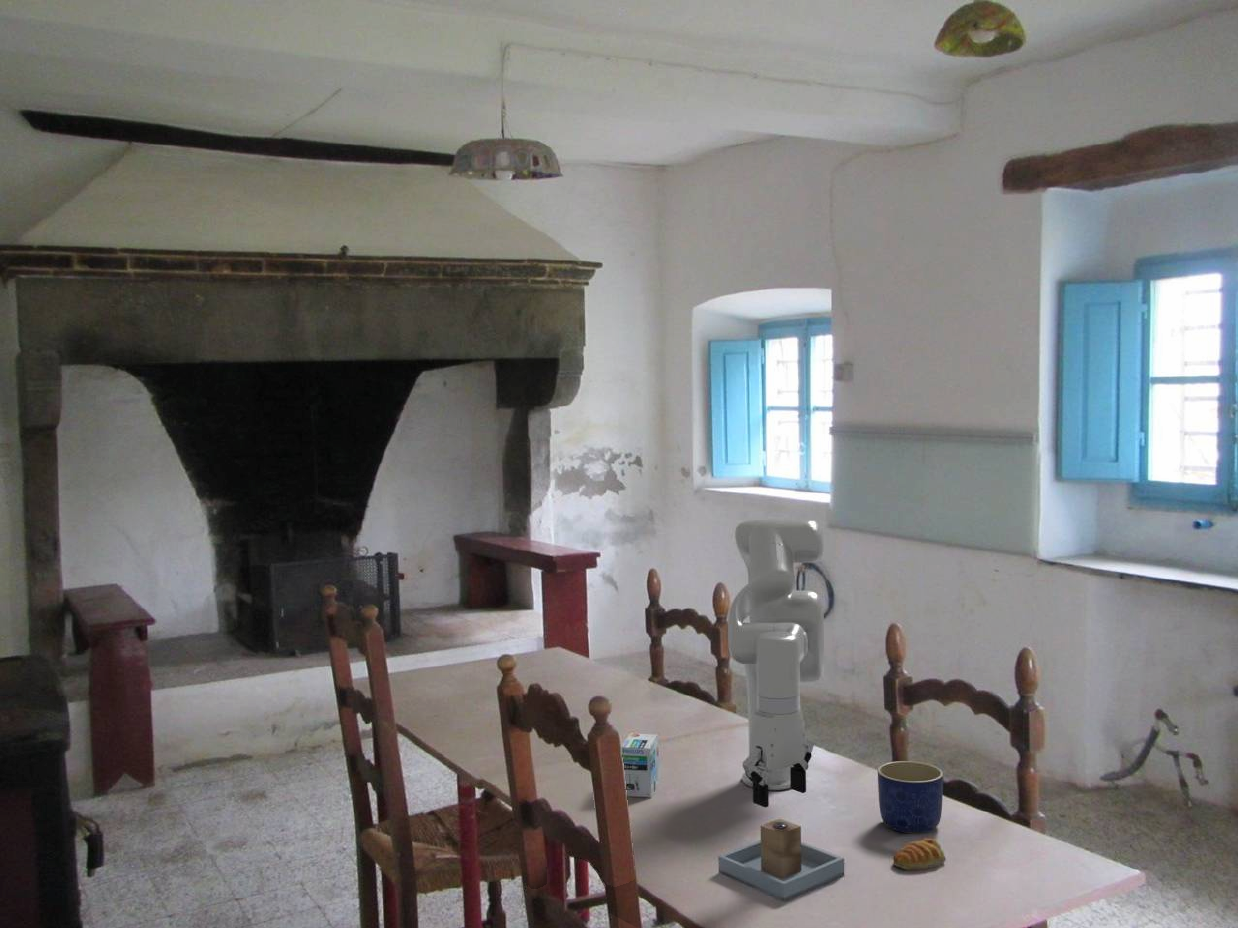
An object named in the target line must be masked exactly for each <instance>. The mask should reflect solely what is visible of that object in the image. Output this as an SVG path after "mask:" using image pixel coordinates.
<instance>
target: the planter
mask: <svg viewBox="0 0 1238 928" xmlns="http://www.w3.org/2000/svg"><path fill="white" fill-rule="evenodd" d="M943 786H944V772H943V771H942V769H940V768H939V767H937V766H935V765H932V764H929V763H924V762H921V761H920V762H919V761H909V760H908V761H907V760H903V761H902V760H901V761H891V762H886V763H883V764H881V765H880V766H879V767H878V768H877V789H878V803H879V804H878V805H879V811H880V816H881V819H882V821H883V822H884V824H885V825H887V826H888V828H891V830H892V829H893V830H894V831H898V832H901V833H905V834H906V833H907V834H923V833H924V834H925V833H928V832H930V831H933V830H934V829H936V828H937V827H938V826H939V824H940V822H941V818H942V809H943V792H944V787H943Z"/></svg>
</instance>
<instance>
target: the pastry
mask: <svg viewBox="0 0 1238 928" xmlns="http://www.w3.org/2000/svg"><path fill="white" fill-rule="evenodd" d="M892 859H893V862H892V863H893V866H896V867H898V868H901V869H903V870H905V871H914V870H916V871H917V870H927V869H930V868H936V867H938V866H941V865H943V864H944V863H945V862H946V860H947V859H946V855H945V852H944V851H943V848H942V847H941V844H940V843H939V842H938V841H937V840H935V839H933V838H925V837H924V838H923V839H921V840H915V841H910V842H907V843H906V844H905V845H904V846H903V847H901V848H900V849H898V851H897V852H895V854H894V855H893V858H892Z"/></svg>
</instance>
